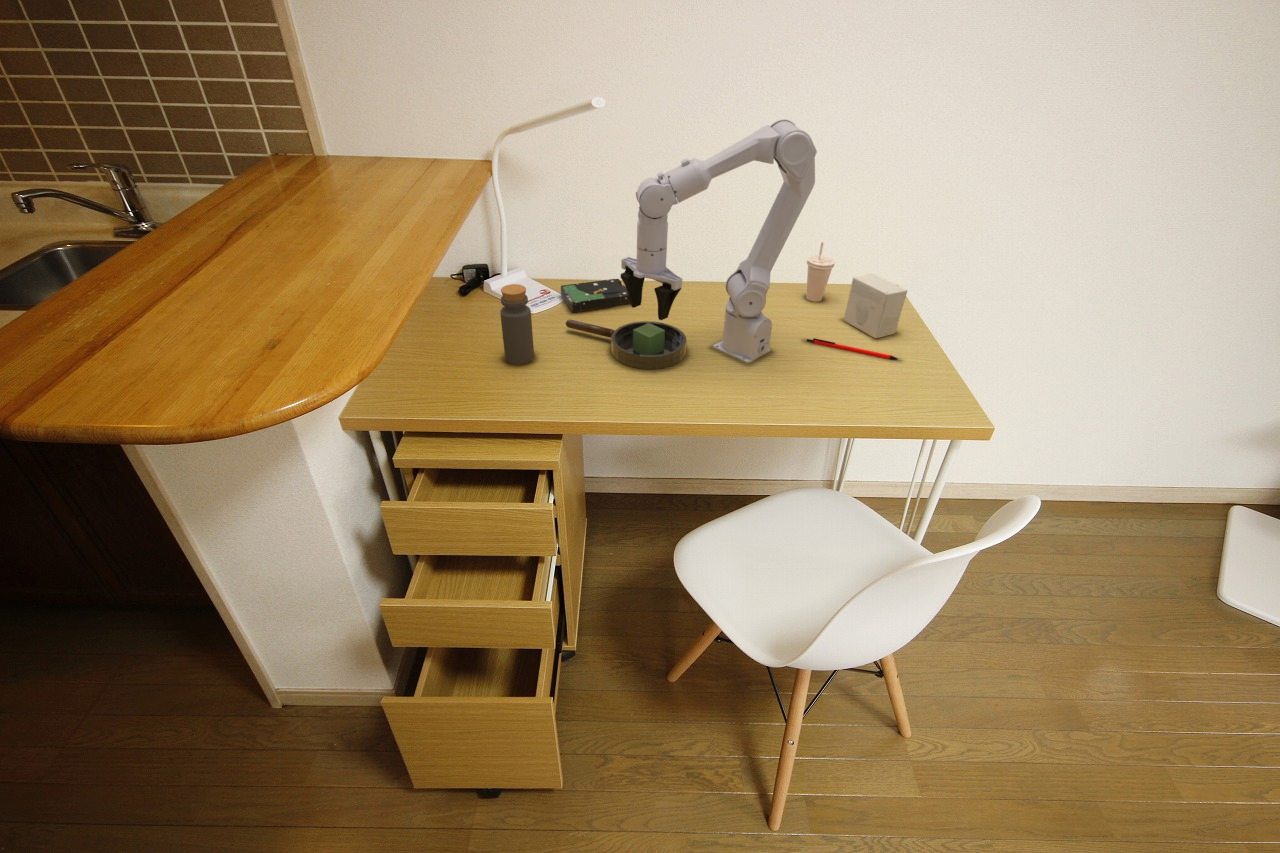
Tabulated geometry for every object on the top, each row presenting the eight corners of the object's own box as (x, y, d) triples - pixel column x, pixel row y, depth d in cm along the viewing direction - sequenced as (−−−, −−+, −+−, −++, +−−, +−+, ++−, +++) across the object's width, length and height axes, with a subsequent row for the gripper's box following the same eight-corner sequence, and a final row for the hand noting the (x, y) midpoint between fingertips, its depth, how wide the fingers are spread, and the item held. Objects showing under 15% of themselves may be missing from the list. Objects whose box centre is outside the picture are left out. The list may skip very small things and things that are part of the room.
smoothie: (795, 294, 162) (805, 238, 154) (818, 291, 164) (829, 236, 155) (808, 305, 157) (819, 248, 149) (832, 302, 159) (844, 245, 151)
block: (664, 350, 136) (665, 330, 134) (648, 358, 134) (649, 337, 131) (648, 343, 139) (648, 322, 136) (632, 350, 136) (633, 329, 133)
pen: (807, 340, 142) (807, 336, 142) (898, 360, 137) (899, 355, 136) (806, 342, 142) (807, 337, 141) (897, 362, 136) (899, 357, 135)
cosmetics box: (896, 333, 146) (909, 289, 140) (875, 339, 143) (887, 294, 137) (863, 314, 153) (873, 272, 147) (842, 320, 151) (851, 276, 145)
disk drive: (617, 288, 163) (560, 295, 158) (618, 277, 161) (559, 284, 156) (632, 305, 155) (572, 313, 150) (633, 294, 153) (572, 302, 149)
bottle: (538, 353, 135) (533, 284, 126) (527, 367, 130) (521, 297, 122) (512, 349, 136) (505, 281, 127) (500, 362, 131) (492, 292, 123)
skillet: (700, 352, 137) (701, 339, 135) (649, 379, 128) (649, 364, 126) (647, 327, 145) (647, 314, 144) (596, 350, 136) (595, 337, 134)
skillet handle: (617, 336, 139) (617, 328, 138) (613, 340, 138) (613, 332, 137) (568, 324, 143) (568, 317, 142) (564, 328, 141) (563, 320, 140)
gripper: (610, 240, 126) (610, 306, 134) (665, 262, 117) (662, 330, 125) (636, 232, 130) (634, 296, 138) (691, 252, 122) (686, 319, 130)
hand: (649, 312), depth 132 cm, fingers open, 7 cm apart
